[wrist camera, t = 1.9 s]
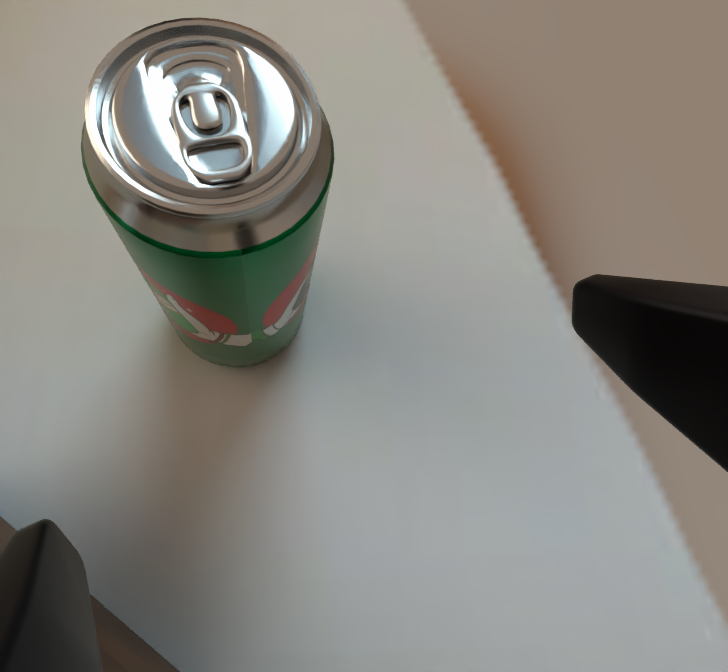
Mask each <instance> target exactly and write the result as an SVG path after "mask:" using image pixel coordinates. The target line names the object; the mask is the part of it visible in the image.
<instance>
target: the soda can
mask: <svg viewBox="0 0 728 672" xmlns="http://www.w3.org/2000/svg"><path fill="white" fill-rule="evenodd" d="M81 153H82V162H83V167H84V170H85V174H86V177H87V180H88V183H89V185H90V187H91V189H92V191H93V193H94V195H95V197H96V198H97V200H98V202H99V204H100V205H101V207H102V209H103V210H104V212H105V214H106V215H107V217H108V219H109V220H110V222H111V224H112V225H113V227H114V229H115V230H116V232H117V234H118V235H119V237H120V239H121V240H122V242H123V244H124V245H125V247H126V249H127V251H128V252H129V254H130V256H131V257H132V259H133V261H134V262H135V264H136V266H137V267H138V269H139V271H140V272H141V274H142V276H143V277H144V279H145V281H146V282H147V284H148V286H149V287H150V289H151V291H152V292H153V294H154V296H155V297H156V299H157V301H158V302H159V304H160V306H161V307H162V309H163V311H164V312H165V314H166V316H167V317H168V319H169V321H170V322H171V324H172V326H173V327H174V329H175V331H176V332H177V334H178V336H179V337H180V339H181V340H182V341H183V343H184V344H185V345H186V346H187V347H188V348H189V349H190V350H191V351H192V352H194V353H195V354H197V355H198V356H200V357H201V358H203V359H205V360H207V361H209V362H212V363H215V364H218V365H222V366H230V367H245V366H250V365H255V364H258V363H261V362H264V361H266V360H268V359H270V358H272V357H274V356H275V355H277V354H278V353H279V352H281V351H282V350H283V349H284V348H285V347H286V346H287V345H288V344H289V343H290V342H291V340H292V339H293V338H294V336H295V335H296V333H297V331H298V329H299V327H300V324H301V321H302V317H303V313H304V308H305V303H306V298H307V294H308V289H309V284H310V279H311V274H312V269H313V265H314V260H315V255H316V250H317V245H318V241H319V236H320V231H321V226H322V221H323V217H324V212H325V207H326V202H327V197H328V193H329V188H330V183H331V178H332V172H333V164H334V146H333V139H332V135H331V130H330V126H329V124H328V121H327V119H326V117H325V114H324V112H323V110H322V108H321V107H320V105H319V103H318V98H317V95H316V93H315V90H314V88H313V86H312V83H311V81H310V79H309V78H308V76H307V74H306V73H305V71H304V70H303V68H302V67H301V66H300V65H299V63H298V62H297V61H296V60H295V59H294V58H293V56H292V55H291V54H289V53H288V52H287V51H286V50H285V49H284V48H283V47H281V46H280V45H279V44H277V43H276V42H274V41H273V40H271V39H270V38H268V37H267V36H265V35H263V34H261V33H259V32H257V31H255V30H253V29H251V28H248V27H245V26H242V25H239V24H236V23H233V22H228V21H223V20H219V19H209V18H181V19H175V20H169V21H164V22H161V23H158V24H154V25H151V26H148V27H146V28H144V29H142V30H140V31H138V32H135V33H133V34H132V35H130V36H129V37H127V38H126V39H124V40H123V41H121V42H120V43H119V44H117V45H116V46H115V47H114V48H113V49H112V50H111V51H110V52H109V53H108V54H107V55H106V56H105V58H104V59H103V60H102V62H101V63H100V64H99V66H98V67H97V69H96V71H95V73H94V75H93V77H92V79H91V81H90V84H89V88H88V91H87V95H86V103H85V122H84V126H83V129H82V140H81Z"/></svg>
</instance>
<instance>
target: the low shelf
mask: <svg viewBox="0 0 728 672" xmlns="http://www.w3.org/2000/svg"><path fill="white" fill-rule="evenodd" d="M16 532H17V531H16V530H15V529H14V528H13V527H12V526H11V525H9V524H8V523H7V522H6V521H5V520H4V519H2V518H1V517H0V554H1V552H2V551H3V549H4V548H5V546H6V545H7V543H8V542H9V540H10V539H11V537H12V536H13V535H14V533H16ZM90 600H91V605H92V611H93V616H94V622H95V627H96V633H97V638H98V643H99V649H100V655H101V661H102V667H103V672H179V671H178V670H177V669H176V668H175V667H173V666H172V665H171V664H170V663H169V662H168V661H167V660H165V659H164V658H163V657H162V656H161V655H160V654H158V653H157V652H156V651H155V650H154V649H153V648H152V647H150V646H149V645H148V644H147V643H146V642H145V641H143V640H142V639H141V638H140V637H139V636H138V635H136V634H135V633H134V632H133V631H132V630H131V629H130V628H128V627H127V626H126V625H125V624H124V623H123V622H121V621H120V620H119V619H118V618H117V617H116V616H115V615H113V614H112V613H111V612H110V611H109V610H108V609H106V608H105V607H104V606H103V605H102V604H101V603H100V602H98V601H97V600H96V599H95V598H94V597H93V596H91V595H90Z"/></svg>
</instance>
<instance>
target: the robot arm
mask: <svg viewBox="0 0 728 672" xmlns="http://www.w3.org/2000/svg"><path fill="white" fill-rule="evenodd" d="M572 302H573V303H572V325H573V327H574V330H575V331H576V333H577V334H578V335H579V336H580V337H581V338H582V339H583V340H584V342H585V343H586V344H587V345H588V346H589V347H590V348H591V349H592V350H593V351H594V352H595V353H596V354H597V355H598V356H599V357H600V358H601V359H602V360H603V361H604V362H605V363H606V364H607V365H608V366H609V367H610V368H611V369H612V371H613V372H614V373H615V374H616V375H617V376H618V377H620V379H621V380H622V381H623V382H624V383H625V384H626V385H627V386H628V387H629V388H630V389H631V390H632V391H633V392H635V393H636V394H637V395H638V396H639V397H640V398H641V399H642V400H643V401H645V402H646V403H647V404H648V405H649V406H650V407H652V408H653V409H654V410H655V411H656V412H658V413H659V414H660V415H661V416H662V417H663V418H665V419H666V420H667V421H668V422H669V423H671V424H672V425H673V426H674V427H675V428H677V429H678V430H679V431H680V432H681V433H682V434H683V435H685V436H686V437H687V438H688V439H689V440H690V441H692V442H693V443H694V444H695V445H696V446H698V447H699V448H700V449H701V450H702V451H704V452H705V453H706V454H707V455H708V456H709V457H710V458H712V459H713V460H714V461H715V462H716V463H718V464H719V465H720V466H721V467H722V468H723V469H725V470H726V471H727V472H728V287H725V286H715V285H706V284H694V283H685V282H674V281H663V280H652V279H642V278H632V277H621V276H611V275H600V274H596V275H592V276H590V277H588V278H585V279H583V280H581V281H579V282H577V283H576V284H575V286H574V288H573V301H572ZM0 672H103V667H102V661H101V655H100V649H99V643H98V638H97V633H96V627H95V622H94V616H93V611H92V605H91V600H90V594H89V589H88V584H87V578H86V573H85V568H84V564H83V561H82V559H81V557H80V555H79V553H78V552H77V550H76V549H75V548H74V547H73V545H72V544H71V543H70V542H69V540H68V539H67V538H66V537H65V535H64V534H63V533H62V532H61V530H60V529H59V528H58V527H57V525H56V524H55V523H54V522H52V521H51V520H48V519H43V520H40V521H38V522H36V523H34V524H31V525H29V526H27V527H25V528H22V529H20V530H19V531H17V532H16V533H14V535H13V536H12V537H11V539H10V540H9V542H8V543H7V545H6V546H5V548H4V549H3V551H2V552H1V554H0Z"/></svg>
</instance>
